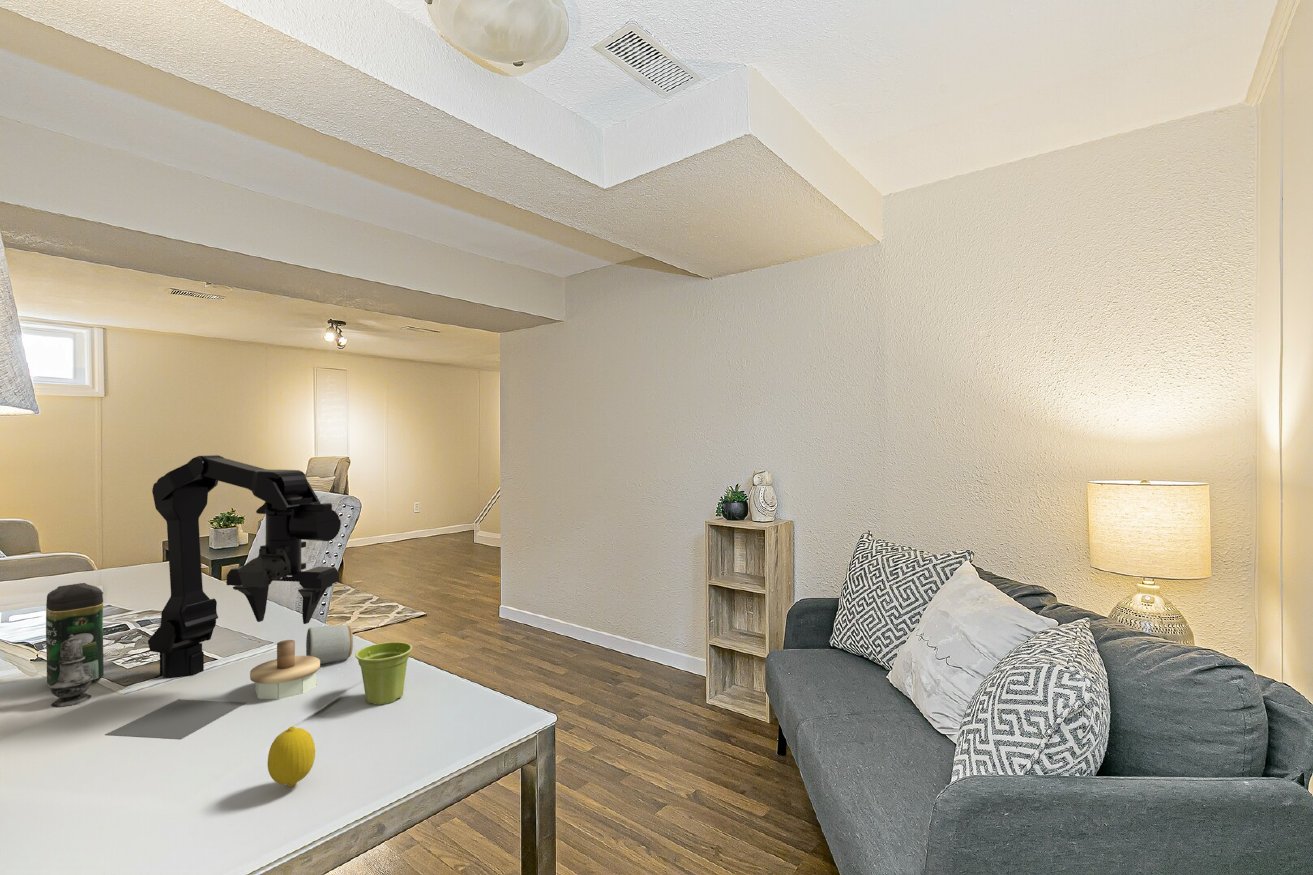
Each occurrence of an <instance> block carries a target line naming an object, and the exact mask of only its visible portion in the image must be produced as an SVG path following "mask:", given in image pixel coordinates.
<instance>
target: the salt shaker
mask: <svg viewBox="0 0 1313 875" xmlns="http://www.w3.org/2000/svg"><path fill="white" fill-rule="evenodd" d="M69 637H70V639H68V640H66V641H64V642H63V643H62V644H61V646H60V660H59V661H58V662H57V663H58V664H60V674H59V677H58V679H57V680H56V681H54V682H52V683H50V684H49V685H48V688H50V691H51V693H52V695H53V696H54V697H56V698H57V699H55V700H54V701H52V702H51V703H50V707H52V708H67V707H72V706H77V705H79V704H82V703H83V704H84V703H85V702H87V701H89V700H90V699H92V695H91V694H90V693H86V692H87V690H88V689H89V688H90V686H91V684H92V683H91V680H92V679H93V678H94V677H93V676H92V675H86V674H85V673H84V671H83V659H85V656H82V641H81V640H80V639H75V638H73V635H72V634H71V635H70V636H69Z"/></svg>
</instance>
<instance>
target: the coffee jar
mask: <svg viewBox="0 0 1313 875" xmlns="http://www.w3.org/2000/svg"><path fill="white" fill-rule="evenodd" d="M45 608H46V609H45V643H46V644H45V645H46V683H47V684H48V685H49V684H50V683H52V682H54V681H56V680H57V679H58V677H59V674H60V664H58V663H57V662H58V661H59V660H60V646H61V644H62V643H63V642H64V641H66V640H68V639H70V637H69V636H70V635H71V634H72V635H73V638H75V639H80V640H81V641H82V656H85V659H83V671H84V673H85V674H86V675H92V676H93V677H94V678H93V679H92V680H91V684H92V683H94V682H97V681H100V680H101V679H102V678H103V677H104V672H105V670H104V662H105V661H104V592H103V590H102V589H101V588H100V587H97V586H95V585H91V584H88V583H85V582H82V583H73V584H67V585H60V586H57V587H56V588H55V589H53V590H51V591H50V592H48V594H47V595H46V605H45ZM100 678H101V679H100ZM99 679H100V680H99Z"/></svg>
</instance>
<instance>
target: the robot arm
mask: <svg viewBox="0 0 1313 875" xmlns="http://www.w3.org/2000/svg"><path fill="white" fill-rule="evenodd" d="M308 481H309V480H308V479H307V478H306V473H305V472H303V471H302V470H299V469H269V468H263V467H259V466H256V465H251V464H247V463H243V462H240V461H236V460H233V459H229V458H225V457H223V456H221V455H217V454H216V455H213V454H212V455H211V454H210V455H197V456H195V457H192V458H191V459H190V460H189V461H188V462H186V463H185V464H183V465H181V466H178V467H177V468H174V469H172V470H170V471H168V472H166V473H165V474H164V475H162V476H161V477H159V478H158V479H157V481H156V482H154V483H153V484H152V485H153V486H152V488H151V490H152V497H153V503H154V507H155V510H156V511H157V512H158V513H159V515H161V517H162V518H163V519H164V520H165V521H166V530H167V531H166V533H167V548H168V563H169V564H168V565H169V568H168V569H169V582H170V583H169V584H170V597H169V598H168V600H167V602H166V604H165V605H164V607H163V609H162V610H161V615H160V616H161V617H160V625H159V627H158V628H157V629H156V630H155V632H154V633H153V634H152V635H151V636H150V638H149V639H148V640H147V645H148V648H149V651H150V652H151V653H159V676H162V678H165V679H177V678H183V677H193V676H196V675H198V674H200V673H203V672H204V671H205V669H204V668H205V666H204V664H205V662H204V660H205V657H204V654H205V652H204V651H203V643H204V642H205V641H206V642H207V641H210V640H211V639H212V636H213V632H214V630H215V629H214V628H215V627H216V625H217V620H218V619H219V616H218V612H217V607H218V606H217V605H218V604H217V600H216V599H215V598H210V597H208V595H207V594H206V592H204V587H203V586H204V585H203V572H202V569H203V568H202V554H201V552H202V551H201V537H200V517H201V515H202V514H203V512H204V511H205V508H206V507H207V506H208V499H209V498H208V496H209V493H211V491H212V490H213V489H215V488H216V487H217V486H218V484H219V482H222V483H225V484H228V485H233V486H236V487H239V488H244V489H246V490H249V491H251V493H252V494H253V496H254V497H256V498H258V499H259V500H262V501H263V502H264V503H263V504H262V505H261V506H259V507H258V508H257V509H256V511H255V513H256V514H258V515H265V545H260V546H259V549H258V556H257V557H255V558H253V559H251V560H250V561H248V562H246V563H245V564H244V565H241V566H238V567H234V568H231V569H230V570H229V571H228V573H227V574H226V580H225V581H226V582H225V584H226V586H232V589H233V590H235V591H238V592H240V593H241V594H243V595H244V596H245V597H246V599H247V601H248V604H249V606H250V607H251V610H252V612H253V615H254V618H255V620H256V621H257V623H260V622H263V621H264V618H265V614H266V609H267V603H268V602H267V601H268V595H269V589H270V585H271V584H272V582H275V581H276V582H278V581H279V582H295V583H296V582H297V583H299V584H298V585H300V586H301V588H299V589H297V590H298V593H299V594H300V596H301V597H302V616H301V617H302V623H303V625H307V624H309V623H310V622H311V619H312V617H313V616H314V613H315V611H316V609H317V606H318V604H319V602H320V601H321V599H322V597H323V595H324V594H325V593H326V591H327V589H329V588H331V587H332V586H333V584H335V583H338V582H340V571H339V570H338V569H337V568H336V567H335V566H316V567H313V568H310V569H307V563H305V562H302V549H303V548H306V547H307V541H316V542H317V541H320V542H330V541H332V540H334V539H335V538H336V537H337V536H338V534H339V532H340V530H341V525H342V521H341V519H340V516H339V514H338V513H337V512H336V511H335V510H333V505H332V503H331V502H324V503H321V501H320V500H319V498H318V496H317V494H316V492H315V491H314V489H313V487H312V486H311V484H310V482H308ZM305 569H307V570H305ZM303 570H304V571H303Z"/></svg>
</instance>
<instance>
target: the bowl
mask: <svg viewBox="0 0 1313 875" xmlns="http://www.w3.org/2000/svg"><path fill="white" fill-rule="evenodd" d="M254 683H255V682H254ZM316 686H317V671H316V672H315V673H313V674H311V675H309V676H306V677H303V678H300V679H297V680H293V681H288V682H282V683H273V684H262V683H255V694H256V696H257V699H260V700H261V699H262V700H282V699H286V698H289V697H295V696H299V695H303V694H305V693H306V692H308V691H310V690H312V689H313V688H315V687H316Z"/></svg>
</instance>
